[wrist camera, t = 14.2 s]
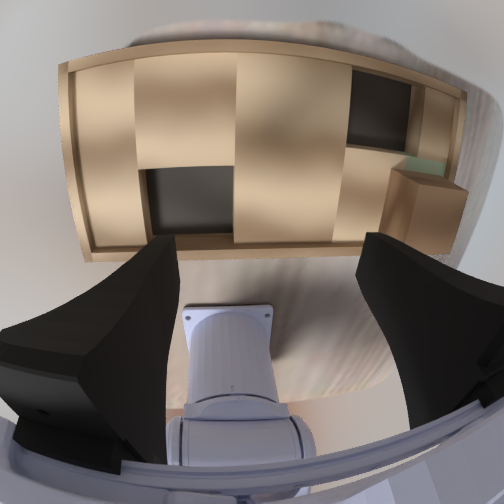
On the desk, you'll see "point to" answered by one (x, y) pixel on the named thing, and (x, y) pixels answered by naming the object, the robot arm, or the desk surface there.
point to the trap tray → (244, 146)
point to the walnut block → (422, 211)
